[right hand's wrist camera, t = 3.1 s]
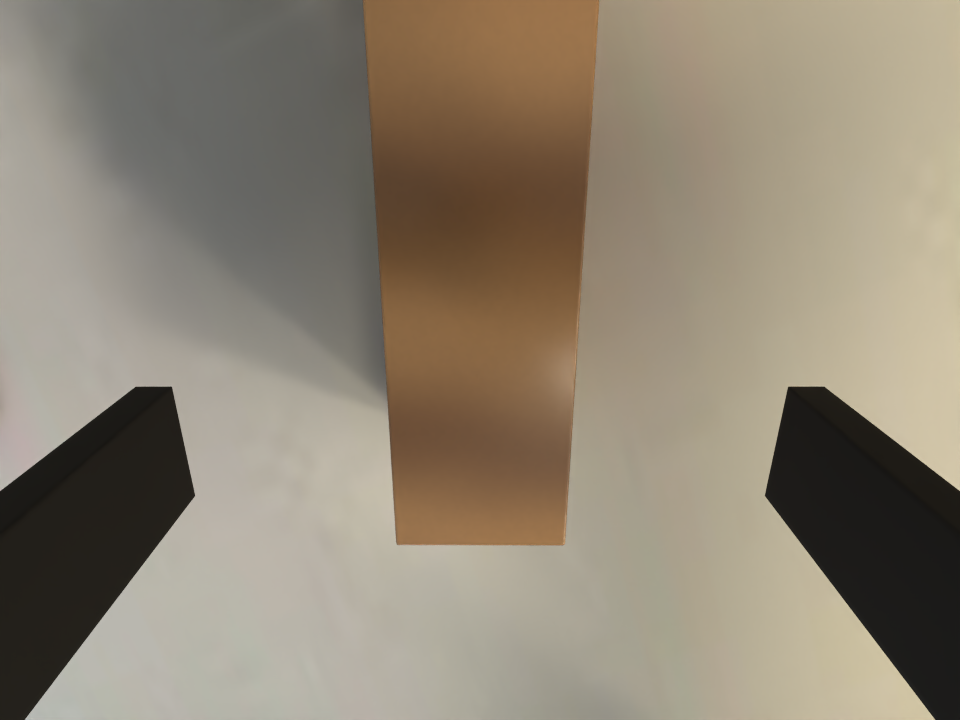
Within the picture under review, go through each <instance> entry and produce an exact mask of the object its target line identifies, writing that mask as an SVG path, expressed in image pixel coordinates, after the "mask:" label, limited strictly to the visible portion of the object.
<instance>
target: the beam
mask: <svg viewBox="0 0 960 720" xmlns="http://www.w3.org/2000/svg"><path fill="white" fill-rule="evenodd" d="M598 11H599V0H363V12H364V28H365V44H366V61H367V77H368V93H369V109H370V125H371V141H372V158H373V174H374V190H375V206H376V222H377V238H378V255H379V271H380V287H381V303H382V319H383V336H384V352H385V368H386V384H387V400H388V416H389V433H390V449H391V465H392V481H393V497H394V513H395V530H396V543H397V545H564V544H565V535H566V519H567V503H568V488H569V472H570V456H571V440H572V424H573V408H574V392H575V376H576V360H577V345H578V329H579V313H580V297H581V281H582V265H583V249H584V233H585V217H586V202H587V186H588V170H589V154H590V138H591V122H592V106H593V90H594V74H595V59H596V43H597V27H598Z"/></svg>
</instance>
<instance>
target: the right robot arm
mask: <svg viewBox="0 0 960 720" xmlns="http://www.w3.org/2000/svg"><path fill="white" fill-rule="evenodd" d="M194 497H195V493H194V488H193V484H192V479H191V474H190V470H189V465H188V460H187V456H186V451H185V446H184V442H183V437H182V432H181V428H180V423H179V418H178V414H177V409H176V404H175V400H174V395H173V390H172V387H135V388H134V389H132V390H131V391H130V392H128V393H127V394H126V395H124V396H123V397H122V398H121V399H119V400H118V401H117V402H115V403H114V404H113V405H112V406H110V407H109V408H108V409H106V410H105V411H104V412H102V413H101V414H100V415H99V416H97V417H96V418H95V419H93V420H92V421H91V422H89V423H88V424H87V425H86V426H84V427H83V428H82V429H80V430H79V431H78V432H76V433H75V434H74V435H73V436H71V437H70V438H69V439H67V440H66V441H65V442H63V443H62V444H61V445H60V446H58V447H57V448H56V449H54V450H53V451H52V452H51V453H49V454H48V455H47V456H45V457H44V458H43V459H41V460H40V461H39V462H38V463H36V464H35V465H34V466H32V467H31V468H30V469H28V470H27V471H26V472H25V473H23V474H22V475H21V476H19V477H18V478H17V479H15V480H14V481H13V482H12V483H10V484H9V485H8V486H6V487H5V488H4V489H3V490H1V491H0V720H25V719H26V717H27V716H28V715H29V713H30V712H31V711H32V709H33V708H34V707H35V705H36V704H37V703H38V701H39V700H40V699H41V698H42V696H43V695H44V694H45V692H46V691H47V690H48V688H49V687H50V686H51V684H52V683H53V682H54V680H55V679H56V678H57V676H58V675H59V674H60V673H61V671H62V670H63V669H64V667H65V666H66V665H67V663H68V662H69V661H70V659H71V658H72V657H73V655H74V654H75V653H76V652H77V650H78V649H79V648H80V646H81V645H82V644H83V642H84V641H85V640H86V638H87V637H88V636H89V634H90V633H91V632H92V631H93V629H94V628H95V627H96V625H97V624H98V623H99V621H100V620H101V619H102V617H103V616H104V615H105V613H106V612H107V611H108V609H109V608H110V607H111V606H112V604H113V603H114V602H115V600H116V599H117V598H118V596H119V595H120V594H121V592H122V591H123V590H124V588H125V587H126V586H127V585H128V583H129V582H130V581H131V579H132V578H133V577H134V575H135V574H136V573H137V571H138V570H139V569H140V567H141V566H142V565H143V564H144V562H145V561H146V560H147V558H148V557H149V556H150V554H151V553H152V552H153V550H154V549H155V548H156V546H157V545H158V544H159V543H160V541H161V540H162V539H163V537H164V536H165V535H166V533H167V532H168V531H169V529H170V528H171V527H172V525H173V524H174V523H175V521H176V520H177V519H178V518H179V516H180V515H181V514H182V512H183V511H184V510H185V508H186V507H187V506H188V504H189V503H190V502H191V500H192V499H193V498H194ZM765 497H766V498H767V499H768V500H769V502H770V503H771V504H772V506H773V507H774V508H775V510H776V511H777V512H778V514H779V515H780V516H781V518H782V519H783V520H784V521H785V523H786V524H787V525H788V527H789V528H790V529H791V531H792V532H793V533H794V535H795V536H796V537H797V539H798V540H799V541H800V543H801V544H802V545H803V546H804V548H805V549H806V550H807V552H808V553H809V554H810V556H811V557H812V558H813V560H814V561H815V562H816V564H817V565H818V566H819V567H820V569H821V570H822V571H823V573H824V574H825V575H826V577H827V578H828V579H829V581H830V582H831V583H832V585H833V586H834V587H835V588H836V590H837V591H838V592H839V594H840V595H841V596H842V598H843V599H844V600H845V602H846V603H847V604H848V606H849V607H850V608H851V610H852V611H853V612H854V613H855V615H856V616H857V617H858V619H859V620H860V621H861V623H862V624H863V625H864V627H865V628H866V629H867V631H868V632H869V633H870V634H871V636H872V637H873V638H874V640H875V641H876V642H877V644H878V645H879V646H880V648H881V649H882V650H883V652H884V653H885V654H886V655H887V657H888V658H889V659H890V661H891V662H892V663H893V665H894V666H895V667H896V669H897V670H898V671H899V673H900V674H901V675H902V676H903V678H904V679H905V680H906V682H907V683H908V684H909V686H910V687H911V688H912V690H913V691H914V692H915V694H916V695H917V696H918V698H919V699H920V700H921V701H922V703H923V704H924V705H925V707H926V708H927V709H928V711H929V712H930V713H931V715H932V716H933V717H934V719H935V720H960V491H959V490H957V489H956V488H955V487H954V486H952V485H951V484H950V483H948V482H947V481H946V480H945V479H943V478H942V477H941V476H939V475H938V474H937V473H935V472H934V471H933V470H932V469H930V468H929V467H928V466H926V465H925V464H924V463H922V462H921V461H920V460H919V459H917V458H916V457H915V456H913V455H912V454H911V453H909V452H908V451H907V450H906V449H904V448H903V447H902V446H900V445H899V444H898V443H897V442H895V441H894V440H893V439H891V438H890V437H889V436H887V435H886V434H885V433H884V432H882V431H881V430H880V429H878V428H877V427H876V426H874V425H873V424H872V423H871V422H869V421H868V420H867V419H865V418H864V417H863V416H861V415H860V414H859V413H858V412H856V411H855V410H854V409H852V408H851V407H850V406H848V405H847V404H846V403H845V402H843V401H842V400H841V399H839V398H838V397H837V396H836V395H834V394H833V393H832V392H830V391H829V390H828V389H826V388H825V387H788V390H787V395H786V400H785V404H784V409H783V414H782V418H781V423H780V428H779V432H778V437H777V442H776V446H775V451H774V456H773V460H772V465H771V470H770V474H769V479H768V484H767V488H766V493H765Z"/></svg>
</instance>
